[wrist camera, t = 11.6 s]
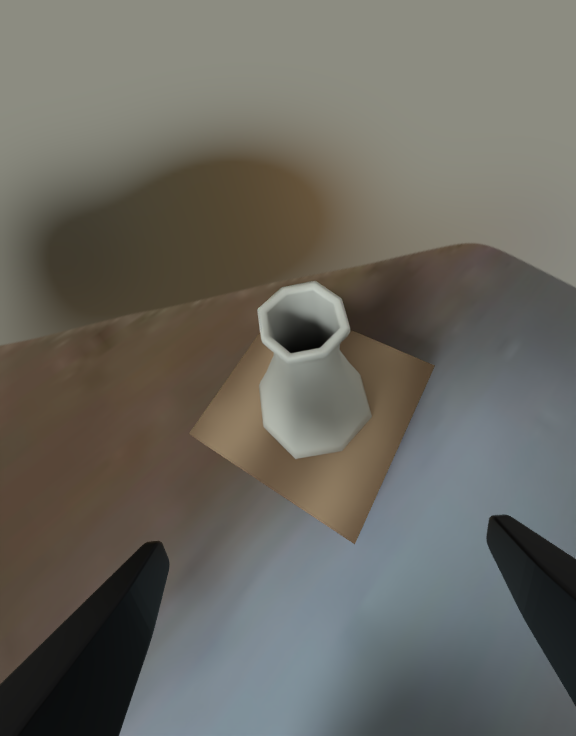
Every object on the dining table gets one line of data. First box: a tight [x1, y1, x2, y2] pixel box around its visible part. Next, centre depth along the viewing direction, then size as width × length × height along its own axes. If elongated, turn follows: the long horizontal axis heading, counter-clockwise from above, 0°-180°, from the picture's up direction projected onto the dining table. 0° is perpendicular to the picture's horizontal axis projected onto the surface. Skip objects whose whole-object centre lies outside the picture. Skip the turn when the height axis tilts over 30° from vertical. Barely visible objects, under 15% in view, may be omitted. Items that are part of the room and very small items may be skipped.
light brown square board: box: [189, 330, 435, 544], centre depth 21 cm, size 12×12×4 cm
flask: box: [257, 281, 372, 459], centre depth 15 cm, size 7×7×10 cm
